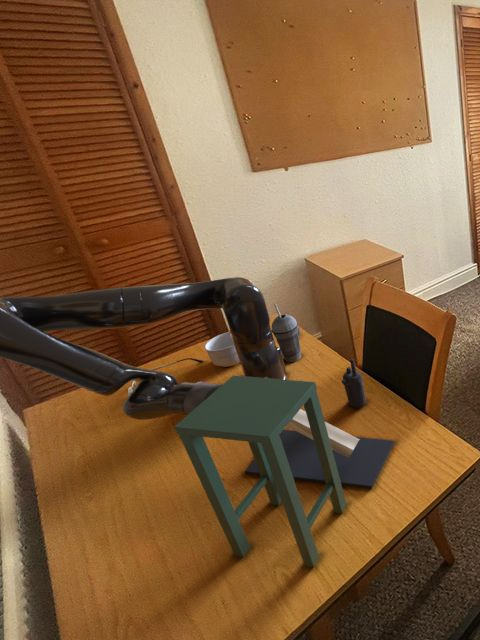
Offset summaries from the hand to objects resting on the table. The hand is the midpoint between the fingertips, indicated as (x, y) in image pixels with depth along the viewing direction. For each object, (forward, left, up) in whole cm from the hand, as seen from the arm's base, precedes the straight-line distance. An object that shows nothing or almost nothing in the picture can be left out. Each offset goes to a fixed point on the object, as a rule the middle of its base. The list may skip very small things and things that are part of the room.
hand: (285, 408), depth 89 cm
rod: (0, +4, -6) cm, 7 cm away
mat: (0, +6, -14) cm, 16 cm away
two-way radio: (-17, +5, -15) cm, 23 cm away
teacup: (-32, -43, -15) cm, 55 cm away
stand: (+16, +9, -14) cm, 23 cm away
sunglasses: (-18, -53, -15) cm, 58 cm away
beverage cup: (-34, -25, -15) cm, 45 cm away
